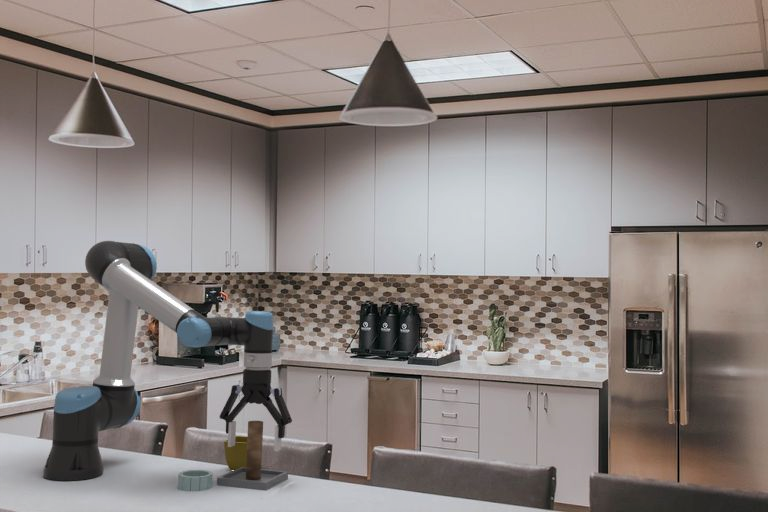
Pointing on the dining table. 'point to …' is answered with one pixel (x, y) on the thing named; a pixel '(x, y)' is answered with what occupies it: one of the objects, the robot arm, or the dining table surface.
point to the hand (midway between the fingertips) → (254, 448)
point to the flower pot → (236, 453)
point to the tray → (239, 480)
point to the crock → (195, 480)
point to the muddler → (254, 450)
